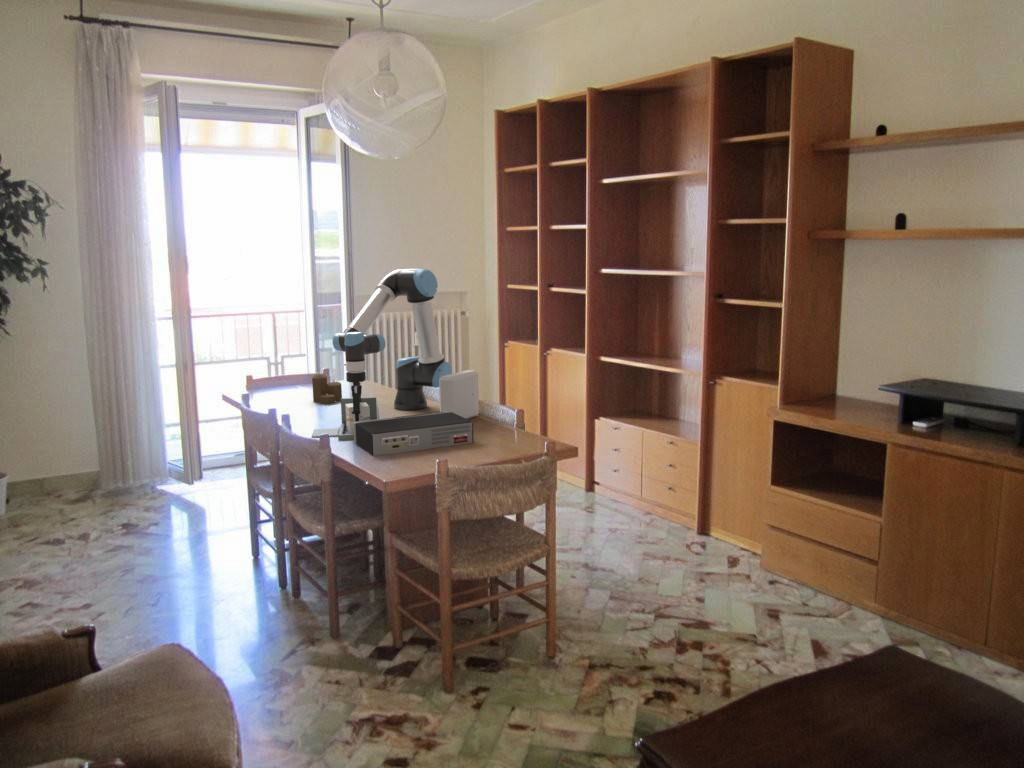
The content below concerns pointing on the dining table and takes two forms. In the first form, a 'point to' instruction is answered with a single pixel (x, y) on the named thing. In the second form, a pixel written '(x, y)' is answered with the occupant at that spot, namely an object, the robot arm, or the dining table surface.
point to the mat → (331, 432)
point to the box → (412, 432)
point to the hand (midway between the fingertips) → (358, 426)
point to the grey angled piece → (373, 414)
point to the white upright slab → (460, 393)
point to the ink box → (350, 418)
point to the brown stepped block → (325, 390)
